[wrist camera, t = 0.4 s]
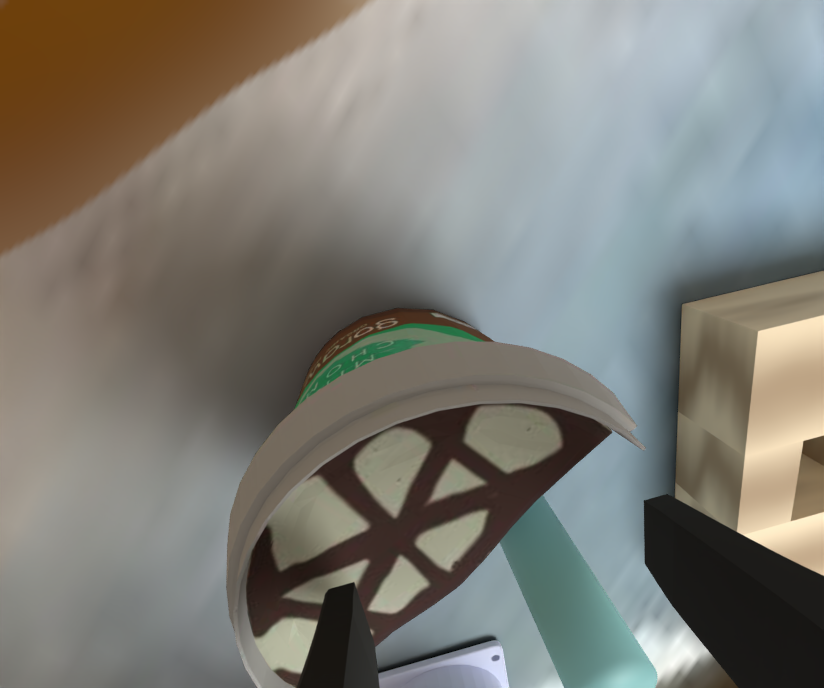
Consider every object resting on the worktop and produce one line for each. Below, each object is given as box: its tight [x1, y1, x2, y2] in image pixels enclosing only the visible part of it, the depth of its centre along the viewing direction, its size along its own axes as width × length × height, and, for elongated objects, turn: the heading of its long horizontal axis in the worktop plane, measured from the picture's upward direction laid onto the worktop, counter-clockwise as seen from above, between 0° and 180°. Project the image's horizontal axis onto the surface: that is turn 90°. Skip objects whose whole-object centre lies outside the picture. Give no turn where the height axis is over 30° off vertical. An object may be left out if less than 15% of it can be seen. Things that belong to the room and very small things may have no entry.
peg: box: [500, 495, 657, 688], centre depth 19 cm, size 3×3×9 cm
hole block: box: [675, 271, 824, 576], centre depth 22 cm, size 16×10×4 cm, turn 11°
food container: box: [226, 308, 646, 688], centre depth 15 cm, size 12×6×10 cm, turn 136°
